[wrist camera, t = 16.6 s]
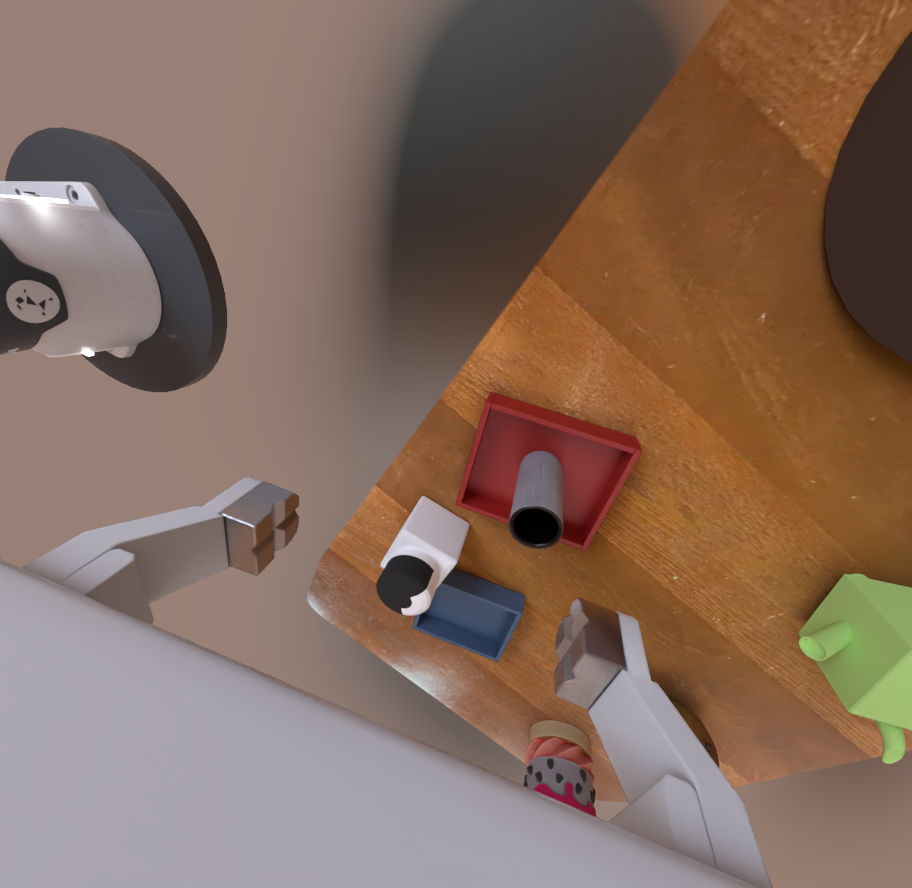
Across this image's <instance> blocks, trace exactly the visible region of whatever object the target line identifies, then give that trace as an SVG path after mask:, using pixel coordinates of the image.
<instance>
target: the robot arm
mask: <svg viewBox="0 0 912 888" xmlns="http://www.w3.org/2000/svg"><path fill="white" fill-rule="evenodd" d="M161 309H162V308H161V295H160V290H159V286H158V283H157V279H156V276H155V274H154V271H153V269H152V267H151V265H150V263H149V261H148V259H147V257H146V255H145V253H144V252H143V250H142V249H141V247H140V246H139V244H138V243H137V242H136V240H135V239H134V238H133V236H132V235H131V234H130V233H129V232H128V231H127V230H126V229H125V228H124V227H123V226H122V224H121V223H120V222H119V221H118V220H117V219H116V218H115V217H114V216H113V215H112V213H111V212H110V210H109V208H108V206H107V205H106V203H105V201H104V200H103V198H102V196H101V195H100V193H99V192H98V191H97V189H96V188H95V187H94V186H93V185H92V184H90V183H88V182H61V181H0V355H6V354H11V353H14V352H17V351H23V350H28V349H33V350H34V351H36V352H38V353H41V354H45V355H46V356H47V357H62V356H70V355H78V354H84V355H86V356H93V355H94V353H93V352H100V351H107V352H109V353H111V354H113V355H115V356H117V357H119V358H126V357H131V356H132V355H133V354H134V352H135V350H136V347H137V345H138V344H139V343H140V342H142V341H144V340H146V339H148V338H149V337H151V336H152V335H153V334H154V332H155V331H156V329H157V328H158V325H159V322H160V318H161ZM298 506H299V496H298V495H296V494H294V493H292V492H290V491H287V490H284V489H282V488H279V487H277V486H275V485H272V484H269V483H267V482H263V481H261V480H258V479H256V478H254V477H246V478H243V479H242V480H241V481H239V482H238V483H236V484H235V485H234V486H232V487H231V488H229V489H227V490H226V491H225V492H223V493H222V494H220V495H219V496H217V497H216V498H214V499H213V500H212V501H210V502H209V503H207V504H205V505H204V506H203V507H199V506H193V507H189V508H184V509H180V510H176V511H171V512H167V513H163V514H159V515H154V516H150V517H146V518H142V519H137V520H133V521H128V522H124V523H120V524H116V525H111V526H107V527H103V528H98V529H94V530H90V531H86V532H83V533H82V534H80V535H78V536H76V537H75V538H73V539H71V540H69V541H68V542H66V543H64V544H62V545H60V546H59V547H57V548H55V549H54V550H52V551H50V552H48V553H46V554H45V555H43V556H41V557H39V558H38V559H36V560H34V561H33V562H31V563H29V564H27V565H25V566H24V567H22V568H20V567H18V566H15V565H13V564H11V563H8V562H6V561H4V560H1V559H0V888H773V887H772V884H771V882H770V879H769V876H768V872H767V870H766V867H765V864H764V861H763V858H762V855H761V852H760V849H759V846H758V843H757V840H756V837H755V834H754V831H753V828H752V825H751V822H750V819H749V816H748V813H747V810H746V807H745V804H744V802H743V801H742V799H741V798H740V797H739V795H738V794H737V792H736V791H735V790H734V788H733V787H732V786H731V784H730V783H729V781H728V780H727V779H726V777H725V776H724V774H723V773H722V772H721V770H720V769H719V768H718V766H717V765H716V763H715V762H714V761H713V759H712V758H711V756H710V755H709V754H708V752H707V751H706V750H705V748H704V747H703V745H702V744H701V743H700V741H699V740H698V738H697V737H696V736H695V734H694V733H693V732H692V730H691V729H690V727H689V726H688V725H687V723H686V722H685V721H684V719H683V718H682V716H681V715H680V714H679V712H678V711H677V709H676V708H675V707H674V705H673V704H672V703H671V701H670V700H669V698H668V697H667V696H666V694H665V693H664V691H663V690H662V689H661V687H660V686H659V685H658V683H656V682H653V681H651V677H650V672H649V668H648V663H647V659H646V654H645V650H644V645H643V641H642V636H641V632H640V627H639V623H638V621H637V619H636V618H634V617H631V616H628V615H626V614H623V613H620V612H617V611H614V610H612V609H609V608H606V607H603V606H600V605H598V604H595V603H592V602H589V601H586V600H584V599H581V598H576V599H575V600H574V601H573V603H572V605H571V615H568V616H565V617H564V618H563V620H562V622H561V624H560V626H559V629H558V633H557V637H556V649H555V653H556V655H557V656H558V658H559V660H560V662H559V664H558V665H557V667H556V669H555V696H557V697H559V698H562V699H564V700H566V701H569V702H571V703H573V704H576V705H578V706H580V707H582V708H585V709H587V710H589V711H588V713H589V715H590V718H591V720H592V722H593V724H594V727H595V729H596V731H597V733H598V736H599V738H600V740H601V742H602V745H603V747H604V749H605V751H606V753H607V756H608V758H609V760H610V762H611V765H612V767H613V769H614V771H615V774H616V776H617V778H618V780H619V783H620V785H621V787H622V789H623V791H624V794H625V796H626V798H627V800H628V803H629V805H628V806H627V807H626V808H625V809H623V810H622V811H621V812H620V813H618V814H617V815H616V816H615V817H614V818H612V819H611V820H610V821H609V822H606V821H604V820H602V819H599V818H597V817H595V816H592V815H590V814H588V813H585V812H583V811H581V810H579V809H576V808H574V807H572V806H569V805H567V804H565V803H562V802H560V801H558V800H555V799H553V798H551V797H548V796H546V795H544V794H542V793H539V792H537V791H535V790H532V789H530V788H528V787H525V786H523V785H521V784H518V783H516V782H514V781H511V780H509V779H507V778H505V777H502V776H500V775H498V774H495V773H493V772H491V771H488V770H486V769H484V768H482V767H479V766H477V765H474V764H472V763H470V762H467V761H465V760H463V759H461V758H459V757H456V756H454V755H452V754H449V753H447V752H445V751H442V750H440V749H438V748H435V747H433V746H431V745H429V744H426V743H424V742H422V741H419V740H417V739H415V738H412V737H410V736H408V735H405V734H403V733H401V732H399V731H396V730H394V729H392V728H389V727H387V726H385V725H383V724H380V723H378V722H376V721H373V720H371V719H369V718H366V717H364V716H362V715H359V714H357V713H355V712H352V711H350V710H348V709H346V708H343V707H341V706H339V705H336V704H334V703H332V702H329V701H327V700H325V699H322V698H320V697H318V696H316V695H313V694H311V693H309V692H306V691H304V690H302V689H299V688H297V687H295V686H292V685H290V684H288V683H286V682H283V681H281V680H279V679H276V678H274V677H272V676H269V675H267V674H264V673H262V672H260V671H258V670H255V669H253V668H251V667H249V666H246V665H244V664H241V663H239V662H237V661H235V660H232V659H230V658H228V657H225V656H223V655H221V654H219V653H216V652H214V651H212V650H209V649H207V648H205V647H202V646H200V645H198V644H195V643H193V642H191V641H189V640H186V639H184V638H182V637H179V636H177V635H175V634H172V633H170V632H168V631H165V630H163V629H161V628H158V627H156V626H154V625H152V623H153V616H152V612H151V609H150V606H149V603H151V602H153V601H156V600H158V599H160V598H162V597H164V596H167V595H169V594H171V593H173V592H175V591H178V590H180V589H182V588H185V587H187V586H189V585H191V584H193V583H196V582H198V581H200V580H202V579H205V578H207V577H209V576H211V575H213V574H216V573H218V572H220V571H222V570H224V569H227V568H229V566H231V567H234V568H236V569H239V570H242V571H245V572H248V573H250V574H253V575H256V576H258V575H259V574H260V573H261V572H262V571H263V570H264V569H265V568H266V566H268V564H269V563H270V562H271V561H272V560H273V559H274V551H276V550H279V549H282V548H285V547H286V546H287V545H288V543H289V542H290V541H291V540H292V538H293V536H294V535H295V533H296V531H297V528H298V524H299V517H298V515H297V513H296V511H295V509H296V508H297V507H298Z"/></svg>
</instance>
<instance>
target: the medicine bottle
mask: <svg viewBox="0 0 912 888" xmlns="http://www.w3.org/2000/svg"><path fill="white" fill-rule="evenodd" d="M469 527H470V524H469V523H468V522H466V521H465V520H463V519H461V518H460V517H458V516H456V515H455V514H453V513H452V512H450V511H448V510H447V509H445V508H443V507H442V506H440V505H438V504H437V503H435V502H433V501H432V500H430V499H429V498H427V497H425V496H422V497H421V498H420V500H419V501H418V503H417V504H416V506H415V508H414V509H413V511H412V512H411V514H410V516H409V517H408V519H407V520H406V522H405V524H404V525H403V527H402V528H401V530H400V532H399V533H398V535H397V537H396V538H395V540H394V542H393V544H392V545H391V547H390V549H389V550H388V552H387V554H386V555H385V557H384V559H383V560H382V562H381V567H382V568H384V570H383V572H382V574H381V575H380V577H379V579H378V581H377V585H376V588H377V592H378V595H379V597H380V599H381V600H382V602H383V603H384V604H385V605H386V606H387V607H389V608H390V609H391V610H393V611H395V612H397V613H400V614H403V615H418V614H421V613H423V612H425V611H426V610H427V609H428V608H429V606H430V604H431V601H432V598H433V596H434V593H435V590H436V589H437V587H438V586H439V585H440V584H441V582H442V581H443V580H444V579H445V578H446V576H447V575H448V574H449V573H450V571H451V570H452V569H453V568H454V566H455V565H456V564H457V562H458V559H459V556H460V553H461V550H462V547H463V544H464V541H465V539H466V536H467V533H468V530H469Z"/></svg>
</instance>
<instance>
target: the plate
mask: <svg viewBox="0 0 912 888" xmlns="http://www.w3.org/2000/svg"><path fill="white" fill-rule="evenodd" d="M824 242H825V248H826V253H827V258H828V263H829V268H830V274H831V279H832V281H833V283H834V285H835V287H836V289H837V291H838V293H839V295H840V297H841V299H842V301H843V303H844V305H845V307H846V309H847V311H848V312H849V313H850V314H851V316H852V317H853V318H854V319H855V320H856V321H857V322H858V323H859V324H860V325H861V326H862V327H863V329H864V330H865V331H866V332H867V333H868V334H869V335H870V336H871V337H872V338H873V339H874V340H875V341H877V342H878V343H880V344H882V345H883V346H885V347H886V348H888V349H889V350H891V351H892V352H894V353H895V354H897V355H899V356H900V357H902V358H903V359H905V360H906V361H909V362H911V363H912V33H911V34H910V35H909V36H908V37H907V39H906V40H905V42H904V43H903V44H902V46H901V47H900V49H899V50H898V52H897V53H896V55H895V56H894V58H893V59H892V60H891V62H890V63H889V65H888V66H887V68H886V69H885V71H884V72H883V74H882V75H881V76H880V78H879V79H878V81H877V82H876V84H875V85H874V87H873V88H872V89H871V91H870V92H869V94H868V95H867V97H866V99H865V101H864V103H863V105H862V107H861V109H860V111H859V113H858V115H857V117H856V119H855V122H854V124H853V126H852V128H851V130H850V132H849V134H848V136H847V138H846V140H845V142H844V144H843V146H842V148H841V150H840V154H839V157H838V161H837V164H836V168H835V171H834V175H833V178H832V182H831V185H830V189H829V193H828V196H827V205H826V221H825V237H824Z"/></svg>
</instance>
